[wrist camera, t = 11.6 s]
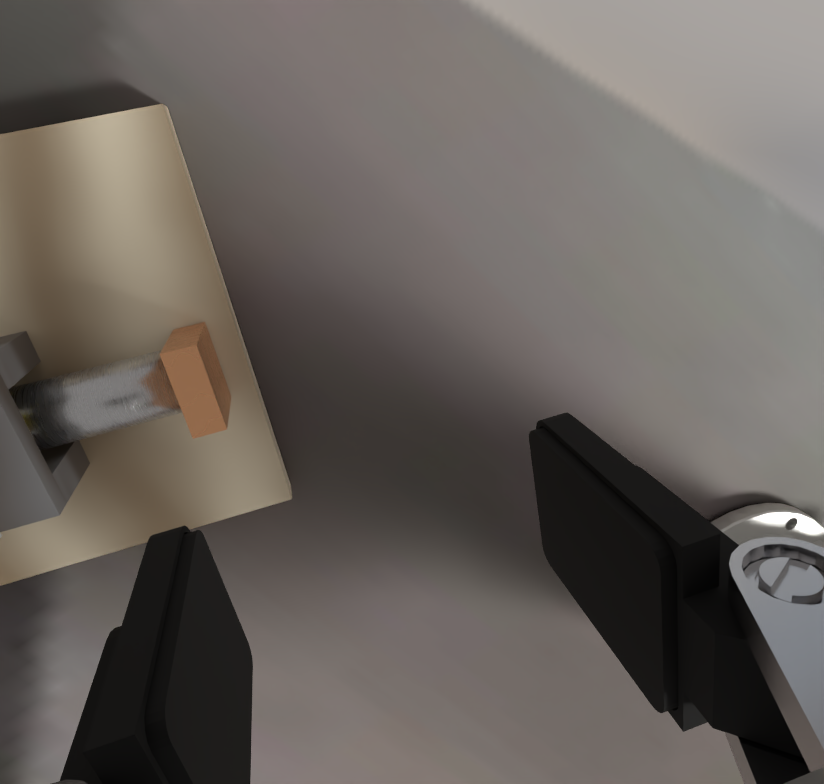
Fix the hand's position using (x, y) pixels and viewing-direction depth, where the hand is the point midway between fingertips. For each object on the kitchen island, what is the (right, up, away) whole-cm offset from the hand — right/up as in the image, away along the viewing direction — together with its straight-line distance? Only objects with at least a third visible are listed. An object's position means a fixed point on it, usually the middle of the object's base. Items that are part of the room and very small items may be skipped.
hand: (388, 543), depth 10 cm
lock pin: (-11, +3, +12) cm, 16 cm away
